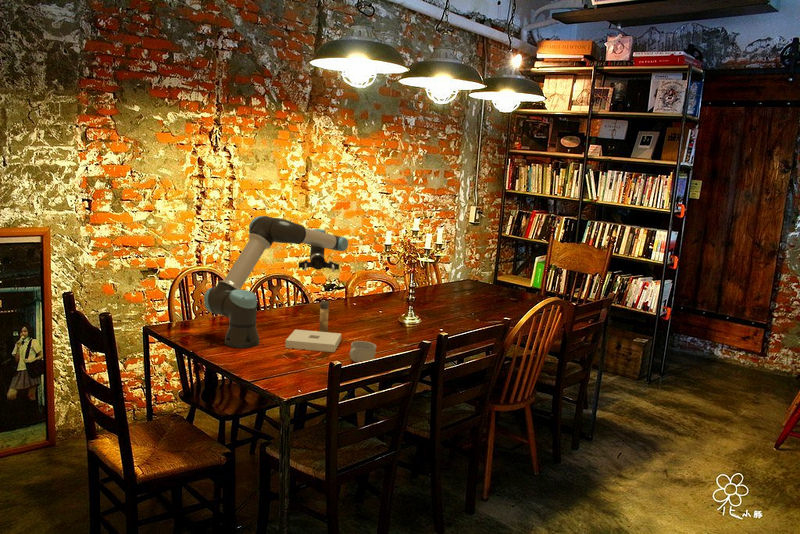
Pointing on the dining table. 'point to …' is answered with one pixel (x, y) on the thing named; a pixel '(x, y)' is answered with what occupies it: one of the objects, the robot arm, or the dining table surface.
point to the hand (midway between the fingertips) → (319, 269)
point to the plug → (324, 316)
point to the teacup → (362, 351)
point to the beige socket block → (313, 340)
